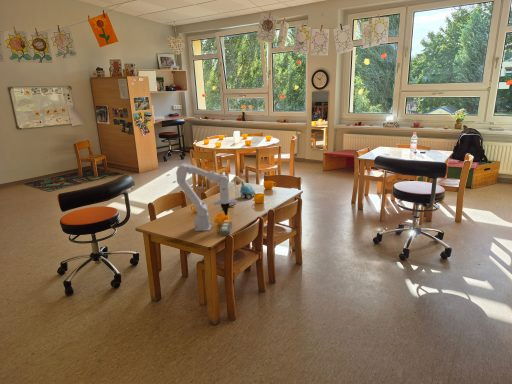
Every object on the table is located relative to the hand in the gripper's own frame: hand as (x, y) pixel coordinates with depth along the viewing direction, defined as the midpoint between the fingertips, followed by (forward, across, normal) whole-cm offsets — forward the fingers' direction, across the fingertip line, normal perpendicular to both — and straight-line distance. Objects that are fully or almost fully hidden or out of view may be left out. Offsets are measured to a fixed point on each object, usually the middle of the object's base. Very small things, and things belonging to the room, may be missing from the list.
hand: (226, 214), depth 221 cm
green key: (+7, 0, +11) cm, 13 cm away
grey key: (+7, 0, +6) cm, 9 cm away
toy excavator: (+9, -8, -60) cm, 62 cm away
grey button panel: (+8, 0, +6) cm, 10 cm away
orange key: (+7, 0, 0) cm, 7 cm away
